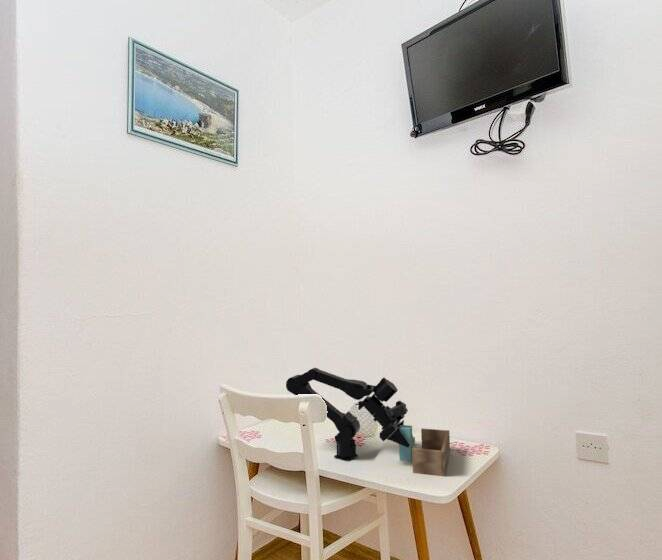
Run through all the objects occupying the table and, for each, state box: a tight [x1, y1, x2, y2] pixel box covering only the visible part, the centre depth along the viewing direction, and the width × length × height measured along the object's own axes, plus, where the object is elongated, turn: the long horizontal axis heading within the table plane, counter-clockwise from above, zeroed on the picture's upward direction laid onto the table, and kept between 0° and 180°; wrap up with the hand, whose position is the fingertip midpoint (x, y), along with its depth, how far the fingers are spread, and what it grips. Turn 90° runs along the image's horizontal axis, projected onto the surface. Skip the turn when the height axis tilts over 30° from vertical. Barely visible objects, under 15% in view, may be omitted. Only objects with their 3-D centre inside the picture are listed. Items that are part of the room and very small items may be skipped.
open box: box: [411, 427, 451, 478], centre depth 144 cm, size 10×23×9 cm, turn 160°
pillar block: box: [398, 424, 414, 462], centre depth 147 cm, size 4×4×11 cm
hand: (409, 444), depth 147 cm, fingers closed on pillar block, 4 cm apart
